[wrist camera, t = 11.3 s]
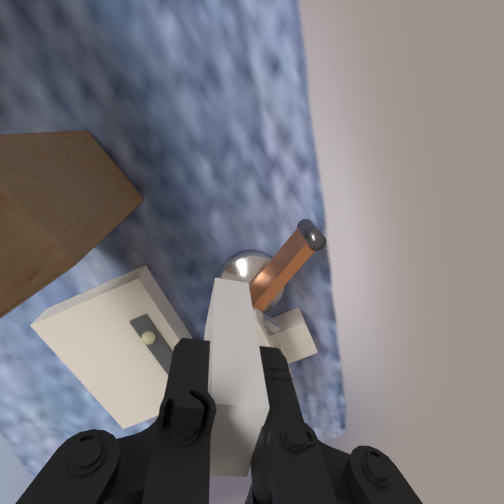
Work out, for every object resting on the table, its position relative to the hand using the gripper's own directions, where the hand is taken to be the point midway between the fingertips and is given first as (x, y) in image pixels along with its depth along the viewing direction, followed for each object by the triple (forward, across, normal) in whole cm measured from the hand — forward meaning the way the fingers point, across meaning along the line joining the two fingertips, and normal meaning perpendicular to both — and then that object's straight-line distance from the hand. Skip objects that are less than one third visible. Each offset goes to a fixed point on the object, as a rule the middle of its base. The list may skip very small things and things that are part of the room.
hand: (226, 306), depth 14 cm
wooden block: (+28, -16, -4) cm, 33 cm away
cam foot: (+27, +8, -10) cm, 30 cm away
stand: (+28, -2, -21) cm, 35 cm away
